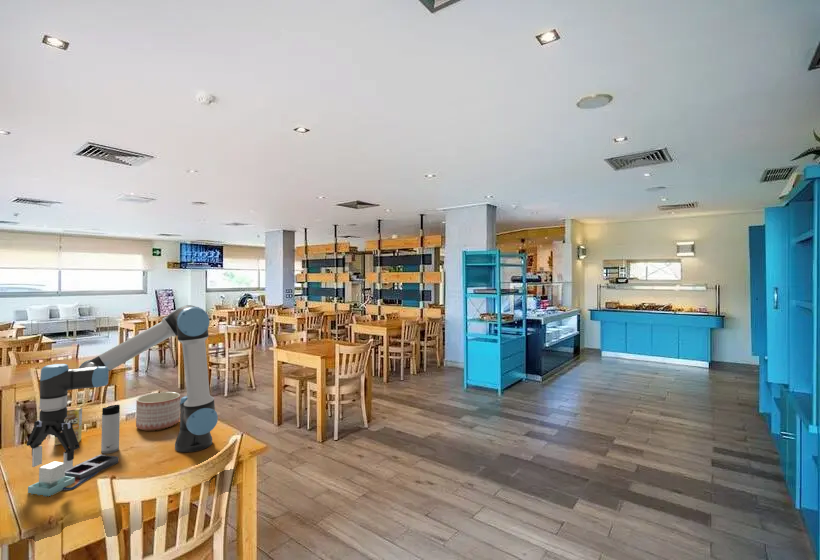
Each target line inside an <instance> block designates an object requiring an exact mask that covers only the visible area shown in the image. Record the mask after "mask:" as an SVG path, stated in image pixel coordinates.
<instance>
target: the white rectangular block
mask: <svg viewBox="0 0 820 560" xmlns="http://www.w3.org/2000/svg"><path fill="white" fill-rule="evenodd" d="M38 482H39V487H41V488H48V489H50V488H52V487H54V486H56V485H58V484H60V483H63V482H65V471H63V461H62V462H61V461H55V460H54V461H51V462H50V463H47V464H44V465H41V466H39V468H38Z"/></svg>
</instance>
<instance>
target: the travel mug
mask: <svg viewBox="0 0 820 560" xmlns="http://www.w3.org/2000/svg"><path fill="white" fill-rule="evenodd" d="M120 410H121V406H120V404H113V405H107V406H106V407H102V411H101V412H102V413H101V445H100V447H101V448H100V449H101V450H100V452H101V454H102V455H108V454H112V453H116V452H118V451H119V450H120V426H121V425H120V418H121V417H120V414H121V411H120Z"/></svg>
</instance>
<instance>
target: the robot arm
mask: <svg viewBox="0 0 820 560" xmlns="http://www.w3.org/2000/svg"><path fill="white" fill-rule="evenodd" d="M209 327H210V317H209V315H208V313H207V312H206V311H205V310H204V309H203V308H201V307H199V306H195V305H192V304H191V305H188V304H187V305H183V306H180V307H178V308H177V309H176V310H174V311H173V312H171V313H169V314H168V315H166V316H164V317H163V318H161V321H160V322H159V323H156V324H155V325H153V326H151V327H149V328H146V329H145V330H143V331H142V332H140V333H138V334H136V335H134V336H132V337H131V338H128V339H127V340H126V341H125V340H124V341H123V342H121V343H118V345H116V346H114V347H112V348H110V349H108V350H107V351H105V352H103V353H101V354H99V355H98V356H96V357H93V358H92V359H89V360H86V361H84V362H83V363H81V364H80V365H79V366H78V368H69V364H66V363H54V364H48V365H45V366H43V367H42V368H41V369H40V379H39V407H38V408H39V416H38V417H39V419H38V420H35V421H34V423H33V428H32V431H31V432H30V435H29V437H28V439H27V441H26V446H27V447H30V449H31V458H32V460H31V461H32V462H31V467H32V468H34V467H35V468H36V467H38V466H40V465H43V444H42V443H43V442H44V440H45V439H46V438H47V437H48V436H49V435H50V436H54V438H55V437H57V438H58V439H59V441H60V443H61V444H60V445H61V446H62V447H63V449H64V451H63V460H62V462H63V471H66V470H69V469H71V468H73V466H74V464H73V463H74V459H75V451H76V450H78V449H80V444H79V443H80V442H78V441H77V438H76V435H75V433H74V430H73V424H72V422H69V423H65V422H64V419H65V418H66V417H67V408H68V407H67V406H68V393H69V392H68V391H74V390H81V389H84V390H85V389H93V388H96V389H97V388H100V387H106V386H107V385H108V384H109V372H111V371H112V370H113V369H116V368H117V367H119V366H121V365H123V364H125V363H126V362H128V361H130V360H131V359H134V358H135V357H137V356H138V355H141V354H142V353H144V352H145V351H147V350H150V349H151V348H153V347H155V346H157V345H158V344H160V343H162V342H163V341H165V340H167V339H169V338H170V337H177V341H178V342H179V343H181V344H182V353H183V354H182V356H183V366H184V375H185V376H184V377H185V387H186V395H185V396H182V397H180V421H179V431H178V434H177V436H176V439H175V442H174V450H175V451H176V452H179V453H193V452H194V453H195V452H198V451H202V450H205V449H207V448H209V447H211V445H213V437H212V434H211V431H213V429H214V428H215V427H216V426H217V424H218V421H219V418H218V417H219V415H218V412H217V411H216V406H215V397H214V396H213V395H211V394H210V382H209V369H208V359H207V358H208V357H207V349H206V340H207V339H208V338H209V337H210V336H209V335H210V334H209ZM61 431H62V432H61ZM60 432H61V433H60Z"/></svg>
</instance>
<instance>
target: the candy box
mask: <svg viewBox="0 0 820 560" xmlns="http://www.w3.org/2000/svg"><path fill="white" fill-rule="evenodd" d="M64 422H65V423H69V422H72V424H73V430H74V433H75V435H76V438H77V441H78V443H80V442H81V440H82V429H83V428H82V426H83V424H82V423H83V407H81V406H80V407H67V417H66V418H65V419H64ZM61 432H62V431H61ZM61 432H60V433H61ZM54 445H55V446H57V445H62V444H61V443H60V441H59V439H58V438H57V437H55V436H54Z"/></svg>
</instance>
